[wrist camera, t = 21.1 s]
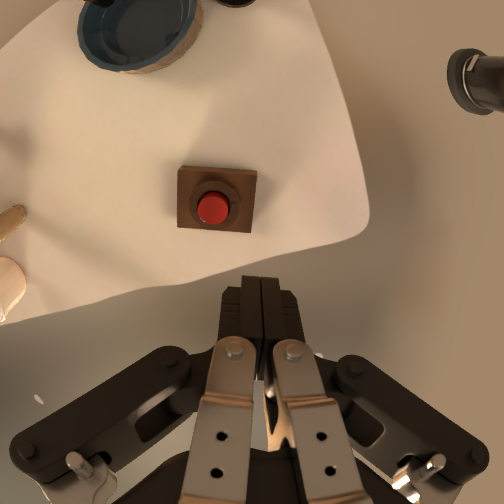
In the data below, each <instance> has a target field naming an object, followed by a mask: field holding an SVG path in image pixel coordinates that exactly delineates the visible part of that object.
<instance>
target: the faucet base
mask: <svg viewBox="0 0 504 504" xmlns="http://www.w3.org/2000/svg"><path fill="white" fill-rule="evenodd" d="M217 1H218V2H219V3H220V4H222V5H224V6H227V7H232V8H240V7H245V6H248V5H250V4H252V3H253V2H254V1H255V0H217Z"/></svg>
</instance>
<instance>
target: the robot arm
mask: <svg viewBox="0 0 504 504" xmlns="http://www.w3.org/2000/svg"><path fill="white" fill-rule="evenodd" d="M461 82H462V87H463V90H464V92H465V94H466V96H467V98H468V99H469V100H470V101H471V103H473V104H474V105H475V106H477V107H479V108H483V109H490V110H495V111H499V112H502V113H504V57H503V56H502V57H501V56H479V55H474V56H469V57H468V58H466V59H465V61H464V62H463V65H462V68H461ZM256 375H257V380H264V392H263V404H264V411H265V418H266V426H267V433H268V452H267V451H262V450H257V449H253V448H250V444H251V431H252V418H253V388H254V380H256ZM193 412H197V418H196V422H195V427H194V432H193V437H192V441H191V446H190V450H189V451H185V452H182V453H179V454H177V455H175V456H173V457H171V458H169V459H168V460H166V461H165V462H163V463H162V464H161V465H160V466H158V467H157V468H156V469H155V470H154V471H153V472H151V473H150V474H149V475H148V476H146V477H145V478H144V479H143V480H142V481H140V482H139V483H138V484H137V485H135V486H134V487H133V488H131V489H130V490H129V491H128V492H126V493H125V494H124V495H122V496H121V497H120V498H118V499H117V500H116V501H114V502H113V503H112V504H453V502H454V501H455V499H456V497H457V496H458V494H459V492H460V490H461V488H462V486H463V485H464V484H465V483H466V482H468V481H470V480H471V479H473V478H474V477H476V476H477V475H479V474H480V473H481V472H483V471H484V470H485V469H486V468H487V466H488V463H489V452H488V449H487V447H486V446H485V445H484V443H482V442H481V441H480V440H478V439H477V438H475V437H474V436H472V435H471V434H470V433H468V432H467V431H465V430H464V429H462V428H461V427H460V426H458V425H457V424H455V423H454V422H452V421H451V420H449V419H448V418H446V417H445V416H444V415H442V414H441V413H440V412H438V411H437V410H435V409H434V408H433V407H431V406H430V405H429V404H427V403H426V402H424V401H423V400H421V399H420V398H418V397H417V396H416V395H415V394H413V393H412V392H410V391H409V390H407V389H406V388H405V387H403V386H402V385H401V384H399V383H398V382H397V381H395V380H394V379H392V378H391V377H390V376H388V375H387V374H386V373H384V372H383V371H381V370H380V369H379V368H377V367H376V366H375V365H373V364H372V363H371V362H369V361H368V360H366V359H365V358H363V357H360V356H357V355H346V356H344V357H342V358H340V360H339V361H338V362H334V361H330V360H326V359H323V358H320V357H318V356H316V355H315V354H313V351H312V349H311V348H310V347H309V346H308V345H307V344H306V343H305V338H304V333H303V329H302V323H301V318H300V313H299V309H298V304H297V299H296V297H295V296H294V295H293V294H292V293H291V291H288V290H280V285H279V279H278V278H272V277H258V276H244V275H242V279H241V287H230V286H229V287H227V289H226V290H225V291H224V292H223V294H222V302H221V312H220V321H219V330H218V339H217V342H216V344H215V345H214V346H213V347H212V348H211V349H209V350H208V351H206V352H203V353H198V354H192V355H188V353H187V352H186V351H185V350H183V349H182V348H179V347H176V346H163V347H160V348H157V349H156V350H154V351H152V352H151V353H149V354H148V355H146V356H145V357H143V358H141V359H140V360H138V361H137V362H135V363H134V364H132V365H130V366H129V367H127V368H126V369H124V370H122V371H121V372H120V373H118V374H116V375H115V376H113V377H111V378H110V379H108V380H107V381H105V382H103V383H102V384H100V385H98V386H97V387H95V388H94V389H92V390H91V391H89V392H87V393H85V394H84V395H82V396H81V397H79V398H77V399H76V400H74V401H72V402H71V403H69V404H67V405H66V406H64V407H62V408H61V409H59V410H57V411H56V412H54V413H52V414H51V415H49V416H47V417H46V418H44V419H42V420H41V421H39V422H37V423H36V424H34V425H32V426H31V427H29V428H27V429H25V430H24V431H22V432H20V433H19V434H17V435H16V436H15V437H14V438H13V439H12V441H11V444H10V448H9V452H10V457H11V460H12V462H13V463H14V465H15V466H16V467H17V468H18V469H19V470H21V471H22V472H23V473H25V474H26V475H27V476H28V477H29V478H30V479H31V480H33V481H34V482H36V483H37V484H38V486H39V487H40V489H41V491H42V492H43V493H44V495H45V496H46V498H47V500H48V501H49V503H50V504H106V502H107V500H108V499H109V497H111V496H112V495H113V494H114V492H115V491H116V488H117V477H116V475H115V473H116V472H117V471H119V470H120V469H122V468H123V467H124V466H126V465H127V464H129V463H130V462H132V461H133V460H134V459H136V458H137V457H138V456H140V455H141V454H142V453H144V452H145V451H146V450H148V449H149V448H150V447H152V446H153V445H154V444H156V443H157V442H158V441H160V440H161V439H162V438H164V437H165V436H166V435H167V434H169V433H170V432H171V431H173V429H175V428H176V427H177V426H179V425H180V424H181V423H182V422H184V421H185V420H186V419H187V418H188V417H190V416H191V415H192V413H193ZM351 447H352V448H353V449H354V450H356V451H357V452H358V453H359V454H361V455H362V456H363V457H364V458H366V459H367V460H368V461H369V462H371V463H372V464H373V465H375V466H376V467H377V468H379V469H380V470H381V471H382V472H384V473H385V474H386V475H388V476H389V477H390V478H392V479H393V480H392V486H391V485H390V484H389V483H387V482H386V481H385V480H384V479H383V478H381V477H380V476H379V475H378V474H376V473H375V472H374V471H373V470H372V469H370V468H369V467H368V466H367V465H366V464H365V463H363V462H362V461H361V460H359V459H358V458H356V457H354V455H353V451H352V448H351Z"/></svg>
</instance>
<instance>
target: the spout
mask: <svg viewBox="0 0 504 504" xmlns="http://www.w3.org/2000/svg"><path fill="white" fill-rule="evenodd" d="M84 1H86V2H89V3H91V4H93V5H95V6H97V7H100V8H107V7H109V6H111V5H112V4H113V3H114V2H115V0H84Z"/></svg>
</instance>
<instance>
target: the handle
mask: <svg viewBox="0 0 504 504" xmlns="http://www.w3.org/2000/svg"><path fill="white" fill-rule="evenodd" d="M26 215H27V213H26V211H25V210H24V208H23V206H22V205H21V206H19V205H15V206H13V208H10V209H8V210H6V211H4V212H2V213H1V214H0V242H1V241H3V240H4V239H6V238H7V237H8V236H9V235H11V234H12V233H13V232H14V231H15V230H16V229H17V228H18V227H19V226H20V224H22V223H23V222H24V221H25V217H26Z"/></svg>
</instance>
